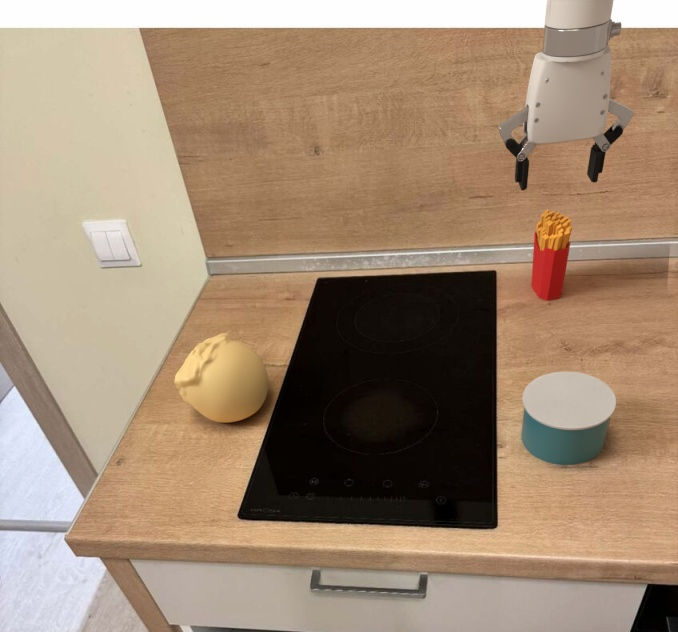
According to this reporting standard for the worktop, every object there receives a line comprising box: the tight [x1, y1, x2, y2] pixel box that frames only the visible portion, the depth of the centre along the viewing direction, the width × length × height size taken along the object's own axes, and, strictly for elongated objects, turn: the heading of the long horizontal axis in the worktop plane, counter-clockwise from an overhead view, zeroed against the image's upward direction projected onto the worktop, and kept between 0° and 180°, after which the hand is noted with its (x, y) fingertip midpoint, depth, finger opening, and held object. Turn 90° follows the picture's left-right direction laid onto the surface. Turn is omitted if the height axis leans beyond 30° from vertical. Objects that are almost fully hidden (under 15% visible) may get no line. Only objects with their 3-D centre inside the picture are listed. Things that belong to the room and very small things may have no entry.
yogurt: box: [520, 370, 617, 466], centre depth 74 cm, size 10×10×8 cm
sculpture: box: [174, 332, 269, 423], centre depth 87 cm, size 11×12×11 cm
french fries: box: [530, 209, 573, 301], centre depth 96 cm, size 8×4×12 cm, turn 6°
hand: (556, 182), depth 88 cm, fingers open, 9 cm apart
